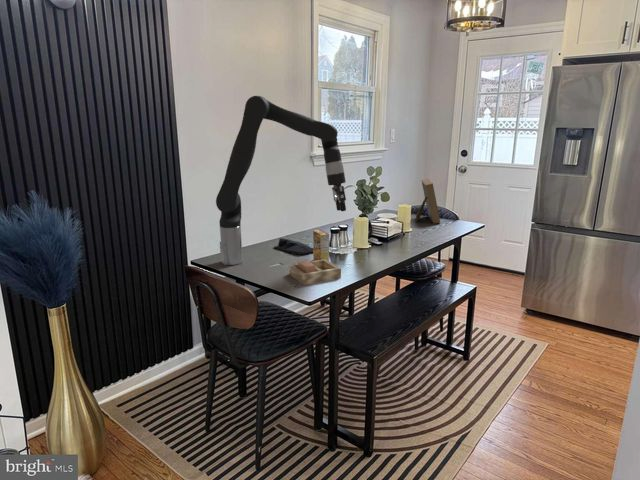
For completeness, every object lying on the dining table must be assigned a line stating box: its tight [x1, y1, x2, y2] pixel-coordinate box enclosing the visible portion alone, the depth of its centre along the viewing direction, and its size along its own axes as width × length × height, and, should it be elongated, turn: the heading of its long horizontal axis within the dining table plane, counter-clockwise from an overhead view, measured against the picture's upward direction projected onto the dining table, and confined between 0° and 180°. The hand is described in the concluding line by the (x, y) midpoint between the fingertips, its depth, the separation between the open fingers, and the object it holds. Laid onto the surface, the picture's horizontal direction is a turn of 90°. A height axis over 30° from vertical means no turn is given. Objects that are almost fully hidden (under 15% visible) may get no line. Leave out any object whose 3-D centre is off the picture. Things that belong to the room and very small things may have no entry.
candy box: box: [312, 229, 330, 262], centre depth 198 cm, size 9×4×15 cm, turn 25°
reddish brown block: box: [297, 259, 315, 273], centre depth 179 cm, size 4×8×6 cm, turn 27°
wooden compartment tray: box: [288, 259, 342, 286], centre depth 181 cm, size 16×14×6 cm
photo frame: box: [414, 178, 441, 225], centre depth 282 cm, size 15×22×25 cm
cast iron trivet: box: [273, 237, 313, 256], centre depth 223 cm, size 15×22×5 cm
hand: (341, 210), depth 191 cm, fingers open, 8 cm apart
